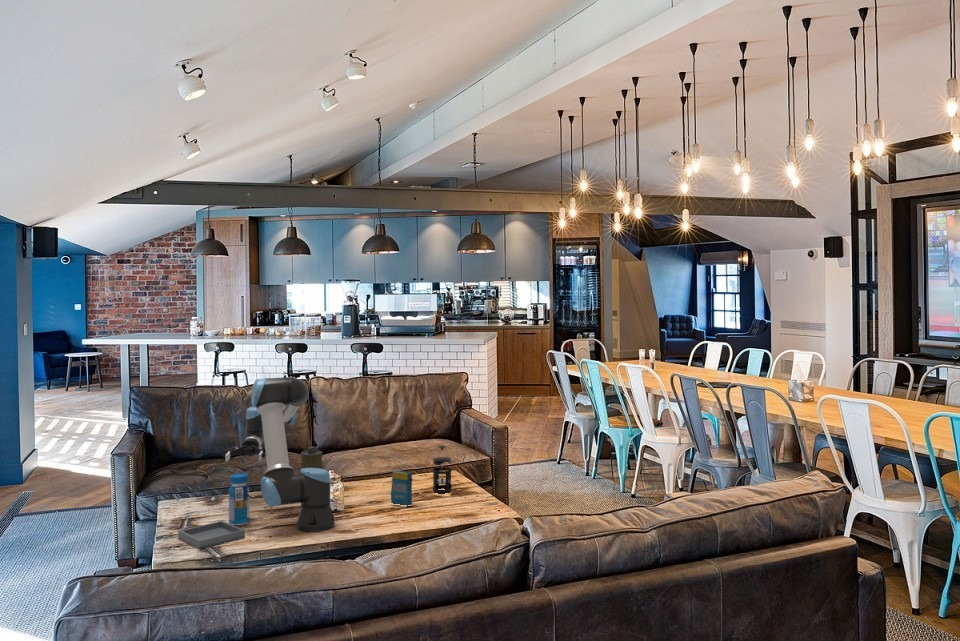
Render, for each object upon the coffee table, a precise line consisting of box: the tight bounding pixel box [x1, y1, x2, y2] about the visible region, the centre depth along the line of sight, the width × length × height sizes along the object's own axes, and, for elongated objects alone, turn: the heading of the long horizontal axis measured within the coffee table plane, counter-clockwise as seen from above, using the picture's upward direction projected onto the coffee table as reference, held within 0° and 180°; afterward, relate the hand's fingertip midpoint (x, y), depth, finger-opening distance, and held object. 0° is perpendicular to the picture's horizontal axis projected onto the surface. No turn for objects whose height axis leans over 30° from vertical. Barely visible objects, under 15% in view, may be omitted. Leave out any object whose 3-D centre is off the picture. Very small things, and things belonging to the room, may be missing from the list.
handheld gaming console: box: [390, 470, 413, 506], centre depth 323 cm, size 10×4×15 cm, turn 65°
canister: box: [300, 446, 323, 470], centre depth 357 cm, size 11×10×20 cm
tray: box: [177, 520, 246, 550], centre depth 279 cm, size 18×18×3 cm
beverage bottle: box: [227, 472, 251, 526], centre depth 298 cm, size 8×8×20 cm
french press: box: [432, 445, 453, 494], centre depth 343 cm, size 12×9×23 cm
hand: (243, 458), depth 307 cm, fingers open, 13 cm apart
